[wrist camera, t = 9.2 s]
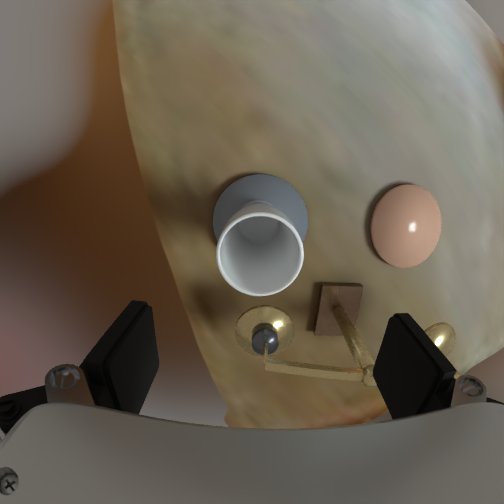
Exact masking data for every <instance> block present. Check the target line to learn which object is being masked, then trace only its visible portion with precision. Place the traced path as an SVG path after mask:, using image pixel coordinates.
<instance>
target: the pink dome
mask: <svg viewBox="0 0 504 504" xmlns="http://www.w3.org/2000/svg"><path fill="white" fill-rule="evenodd" d="M441 222H442V221H441V213H440V209H439V206H438V204H437V202H436V200H435V199H434V197H433V196H432V195H431V194H430V193H429V192H428V191H427V190H425V189H424V188H422V187H420V186H416V185H410V184H402V185H398V186H396V187H393V188H391V189H390V190H388V191H387V192H386V193H385V194H384V195H383V196H382V197H381V198H380V199H379V201H378V202H377V204H376V206H375V208H374V211H373V214H372V217H371V223H370V234H371V240H372V243H373V246H374V248H375V250H376V252H377V253H378V254H379V256H380V257H381V258H382V259H383V260H385V261H386V262H387V263H389V264H390V265H392V266H395V267H398V268H409V267H413V266H416V265H418V264H420V263H421V262H423V261H424V260H425V259H426V258H428V256H429V255H430V254H431V253H432V252H433V250H434V248H435V247H436V245H437V243H438V240H439V237H440V233H441Z"/></svg>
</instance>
